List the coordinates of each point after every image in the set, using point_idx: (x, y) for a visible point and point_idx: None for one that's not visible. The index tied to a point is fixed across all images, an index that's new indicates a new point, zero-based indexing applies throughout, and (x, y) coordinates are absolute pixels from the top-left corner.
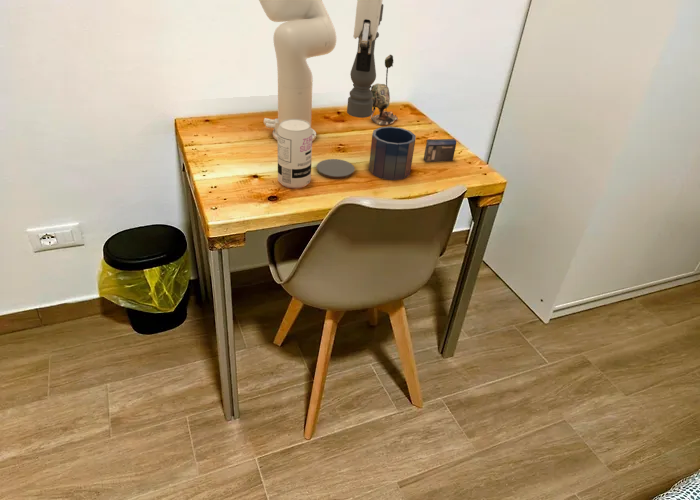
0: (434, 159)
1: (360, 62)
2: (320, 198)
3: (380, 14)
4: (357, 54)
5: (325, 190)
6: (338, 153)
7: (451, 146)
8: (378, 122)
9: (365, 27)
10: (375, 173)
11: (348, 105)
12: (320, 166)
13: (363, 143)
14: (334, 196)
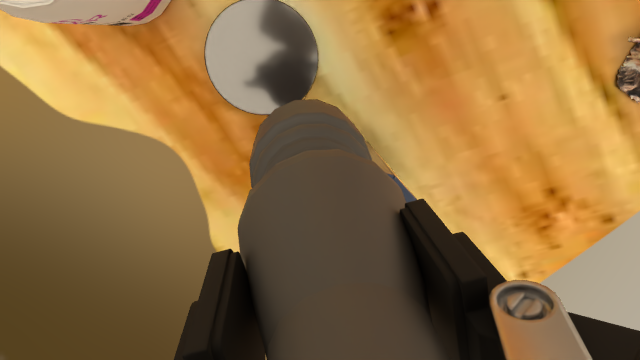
0: None
1: (187, 330)
2: (90, 85)
3: None
4: (186, 342)
5: (137, 79)
6: (372, 22)
7: None
8: (634, 58)
9: None
10: None
11: (270, 122)
12: (243, 13)
13: (470, 67)
14: (124, 114)
